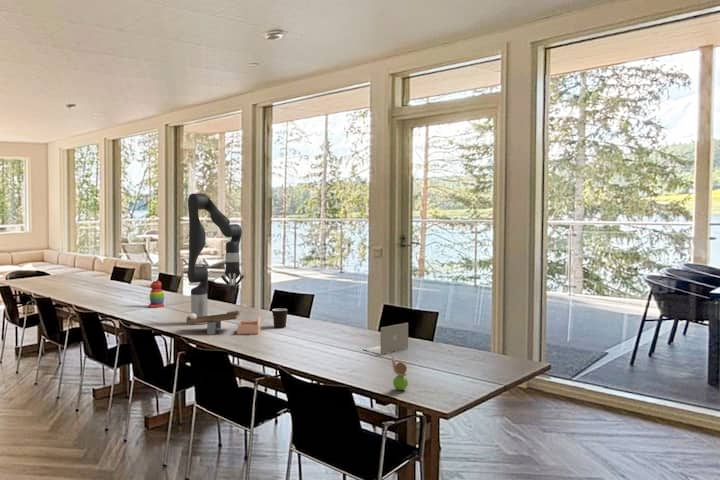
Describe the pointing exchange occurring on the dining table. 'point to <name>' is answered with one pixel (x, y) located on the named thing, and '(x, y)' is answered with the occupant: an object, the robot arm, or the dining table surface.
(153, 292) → the stacking bear
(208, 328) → the lever stand
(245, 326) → the cup
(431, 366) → the dining table surface
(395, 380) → the snail figurine
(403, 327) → the laptop
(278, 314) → the coffee mug
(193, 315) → the ball
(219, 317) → the lever
